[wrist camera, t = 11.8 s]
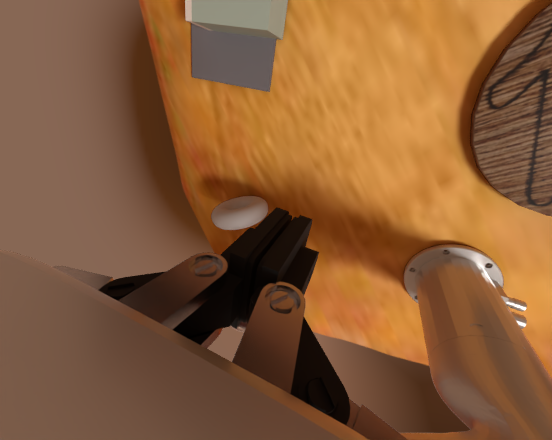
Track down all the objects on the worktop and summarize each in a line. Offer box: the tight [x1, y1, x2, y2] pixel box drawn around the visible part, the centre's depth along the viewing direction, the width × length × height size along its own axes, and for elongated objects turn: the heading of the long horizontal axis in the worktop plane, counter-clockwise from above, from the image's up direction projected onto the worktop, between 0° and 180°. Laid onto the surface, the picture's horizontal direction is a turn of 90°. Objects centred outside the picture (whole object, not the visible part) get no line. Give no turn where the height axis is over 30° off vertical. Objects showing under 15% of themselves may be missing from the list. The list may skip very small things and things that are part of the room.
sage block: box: [185, 0, 288, 40], centre depth 31 cm, size 5×5×12 cm
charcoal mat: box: [191, 23, 276, 92], centre depth 34 cm, size 14×18×1 cm
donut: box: [211, 196, 268, 230], centre depth 42 cm, size 10×4×10 cm, turn 101°
